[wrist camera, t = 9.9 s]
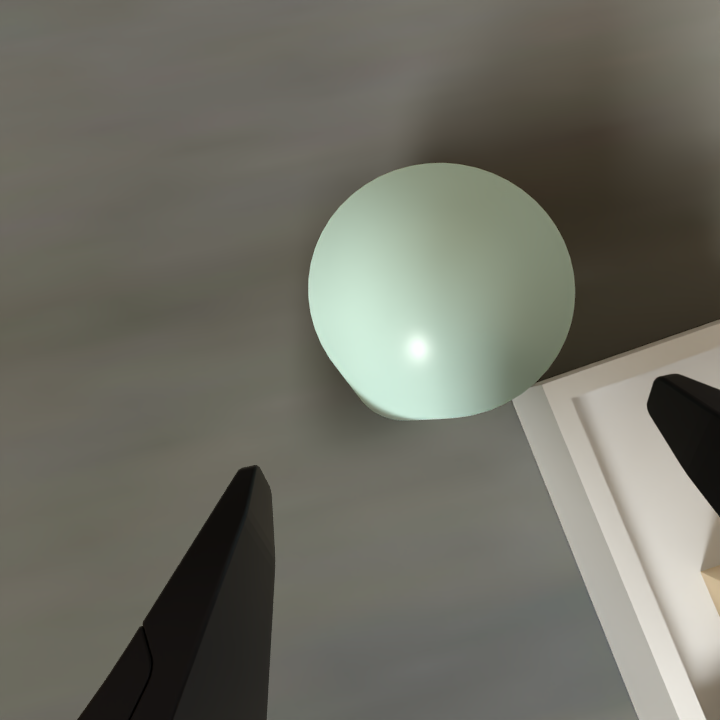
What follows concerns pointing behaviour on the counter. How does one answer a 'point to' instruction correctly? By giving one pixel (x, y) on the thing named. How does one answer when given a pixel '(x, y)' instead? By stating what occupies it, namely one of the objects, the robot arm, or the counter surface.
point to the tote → (636, 518)
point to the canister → (440, 292)
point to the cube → (713, 584)
